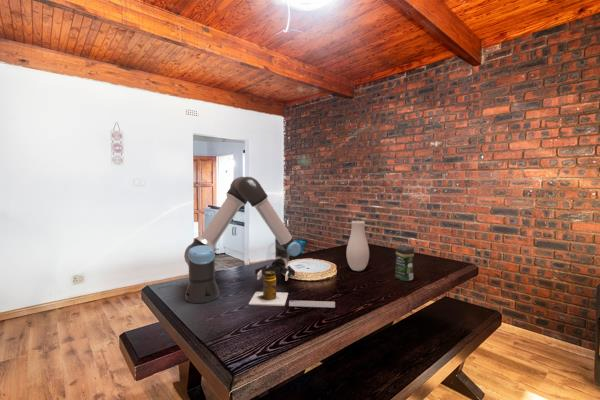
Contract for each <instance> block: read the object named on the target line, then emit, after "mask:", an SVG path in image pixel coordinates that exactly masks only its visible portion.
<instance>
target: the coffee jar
mask: <svg viewBox="0 0 600 400" xmlns="http://www.w3.org/2000/svg"><path fill="white" fill-rule="evenodd" d="M414 256H415V250H414V248H413V247H409V246H406V245H397V246H396V247H395V261H396V262H395V268H394V270H395V271H394V277H395V278H396V279H398V280H400V281H402V282H403V281H404V282H412V281H413V280H414V266H413V265H414Z"/></svg>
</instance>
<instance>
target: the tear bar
mask: <svg viewBox="0 0 600 400" xmlns="http://www.w3.org/2000/svg"><path fill="white" fill-rule="evenodd" d="M288 307H307V308H336V302H335V301H329V300H328V301H327V300H325V301H322V300H320V301H319V300H317V301H316V300H295V299H294V300H292V299H290V300H289V301H288Z"/></svg>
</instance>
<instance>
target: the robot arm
mask: <svg viewBox="0 0 600 400" xmlns="http://www.w3.org/2000/svg"><path fill="white" fill-rule="evenodd" d="M225 194H226V199H225V200H224V201H223V203H222V204H221V206H220V207H219V209H218V210H217V212H216V213H215V215H214V216H213V218H212V219H211V221H210V222H209V223H208V225H207V226H206V228H205V229H204V231H203V232H202V233H201V235H200V236H197V237H195V239H194V240H193V241H192V243H191V244H189V245H188V246H187V247H186V249H185V251H184V261H185V263H186V264H187V266H188V285H187V288H186V290H185V293H184V294H185V295H184V298H185V299H186V300H185V301H186V302H187V301H188V303H191V304H204V303H209V302H212V301H214V300H216V299H218V298H219V296H220V290H219V287H218V285H217V282H216V272H215V271H216V268H215V263H216V262H215V258H216V254H215V252H216V249H217V248H216V244H217V243H218V242H219V240H220V239H221V237H222V236H223V234H224V232H225V231H226V229H228V226H229V225H230V223H231V222H232V220H233V219H234V217H235V216H236V215H237V213H238V212H239V210H240V209H241V207H244V206H246V205H247V203H249V204H250V206H251V207H253V208H255V210H256V211H257V212H258V214H259V215H260V217H261V218H262V220H263V222H264V223H265V224H266V226H267V227H268V228H269V230H270V231H271V233H272V234H273V236H274V237H275V238H274V241H275V242H274V243H275V246H274V247H275V252H274V253H275V258H274V260H273V261H272V263H271V265H269V266H268V265H267V264H264V265H263V266H261V267H258V268H255V270H254V275H256V280H257V281H259V280H260V279H261V278H262V276H263V275H264V273H265V272H266V271H274V272H275V274H278V275H280V274H284V277H285V278H284V279H285V280H284V281H285V282H286V281H288V280H289V278H291V277H292V276H293V277H295V276H296V270H294V268H292V266H291V265H288V264H289V261H290V256H291V257H296V256H298V255H299V254H300V253H301V250H302V246H301V245H300V243H299V242H297V241H296V240H295V239H294V238H293V236H292V234H291V233H290V231H289V230H288V228H287V227H286V226H285V223H284V222H283V220H282V219H281V218H280V216H279V215H278V213H277V212H276V209H274V207H273V206H272V204H271V203H270V201H269V199H268V197H269V196H268V194H267V193H266V191H265V190H264V188H263V187H262V185H261V184H260V182H259V181H258V180H257V179H255V178H254V177H252V176H238V177H237V178H234V180H232V181H231V184H230V186H229V189H228V191H227V192H226V193H225Z"/></svg>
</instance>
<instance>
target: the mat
mask: <svg viewBox="0 0 600 400" xmlns="http://www.w3.org/2000/svg"><path fill="white" fill-rule="evenodd" d="M261 295H263V291H255V293H254V294H253V296H252V297H251V299H250V301H249V302H248V305H249V306H271V307H272V306H273V307H274V306H277V307H285V305H286V303H287V299H288V297H289V296H288V295H289V292H280V291H279V292H277V291H276V296H277V297H279V299H275V300H270V301H266V302H262V301H261V300H260V299H258V298H257V296H261Z"/></svg>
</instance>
